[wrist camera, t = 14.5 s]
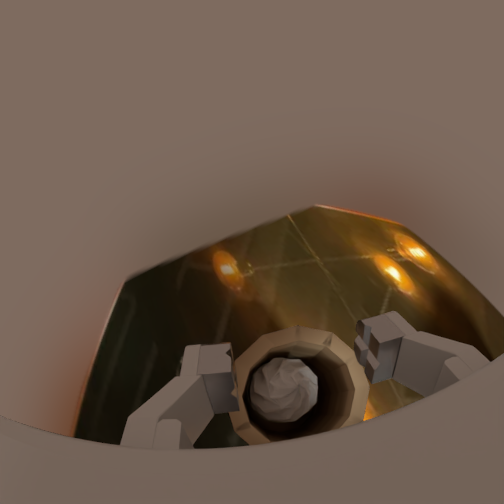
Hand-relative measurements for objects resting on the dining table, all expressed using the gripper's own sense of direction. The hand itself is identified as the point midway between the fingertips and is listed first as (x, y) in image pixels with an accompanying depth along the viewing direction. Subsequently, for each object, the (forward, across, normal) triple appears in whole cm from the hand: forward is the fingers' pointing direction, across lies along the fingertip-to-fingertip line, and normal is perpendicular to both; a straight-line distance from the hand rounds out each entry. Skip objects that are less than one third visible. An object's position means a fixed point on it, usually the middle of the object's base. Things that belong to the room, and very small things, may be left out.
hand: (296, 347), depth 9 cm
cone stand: (+13, +1, -17) cm, 21 cm away
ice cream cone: (+13, 0, -16) cm, 20 cm away
